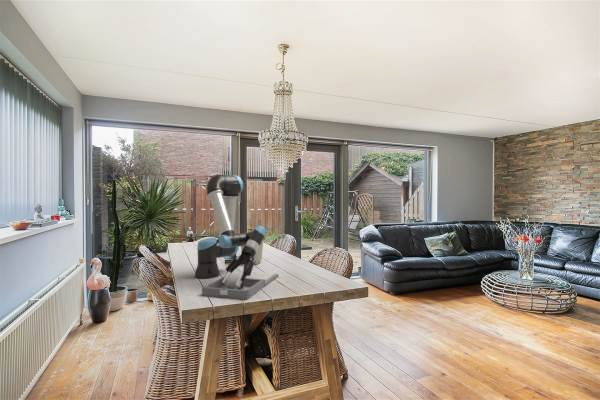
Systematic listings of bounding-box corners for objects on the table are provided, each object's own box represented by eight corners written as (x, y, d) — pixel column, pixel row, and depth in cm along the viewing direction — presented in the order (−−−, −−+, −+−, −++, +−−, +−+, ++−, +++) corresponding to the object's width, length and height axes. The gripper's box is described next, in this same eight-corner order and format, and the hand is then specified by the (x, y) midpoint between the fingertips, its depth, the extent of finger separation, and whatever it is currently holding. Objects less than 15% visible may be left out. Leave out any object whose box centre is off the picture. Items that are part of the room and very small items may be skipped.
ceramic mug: (231, 287, 179) (231, 273, 178) (244, 289, 176) (244, 275, 176) (220, 293, 169) (220, 279, 168) (234, 295, 166) (234, 280, 166)
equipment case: (201, 295, 165) (201, 287, 165) (242, 274, 211) (242, 267, 211) (246, 299, 159) (246, 291, 159) (278, 276, 204) (278, 270, 204)
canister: (239, 261, 250) (238, 234, 250) (262, 260, 255) (262, 233, 254) (240, 266, 233) (240, 237, 232) (265, 265, 237) (265, 236, 237)
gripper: (268, 255, 181) (249, 291, 168) (238, 251, 192) (219, 285, 179) (262, 247, 177) (243, 283, 163) (232, 244, 187) (212, 277, 174)
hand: (230, 284), depth 171 cm, fingers closed on ceramic mug, 9 cm apart
